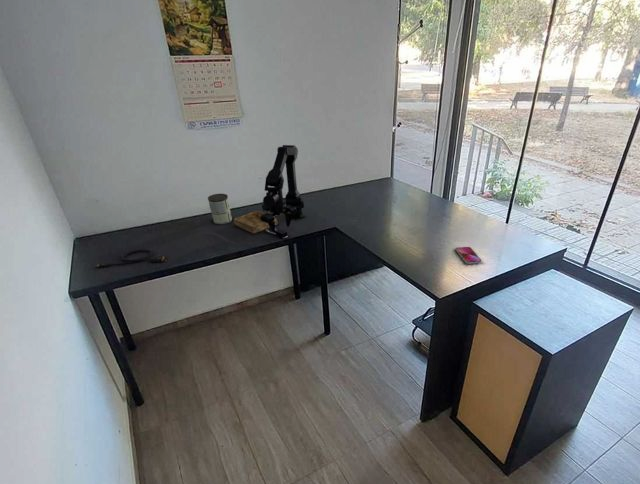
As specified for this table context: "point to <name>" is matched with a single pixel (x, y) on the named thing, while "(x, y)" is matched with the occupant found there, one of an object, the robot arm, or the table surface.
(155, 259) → the cable
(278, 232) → the tongs
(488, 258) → the table surface
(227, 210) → the coffee can
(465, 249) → the smartphone
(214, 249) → the table surface
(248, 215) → the brown wooden tray
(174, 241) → the table surface
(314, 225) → the table surface
